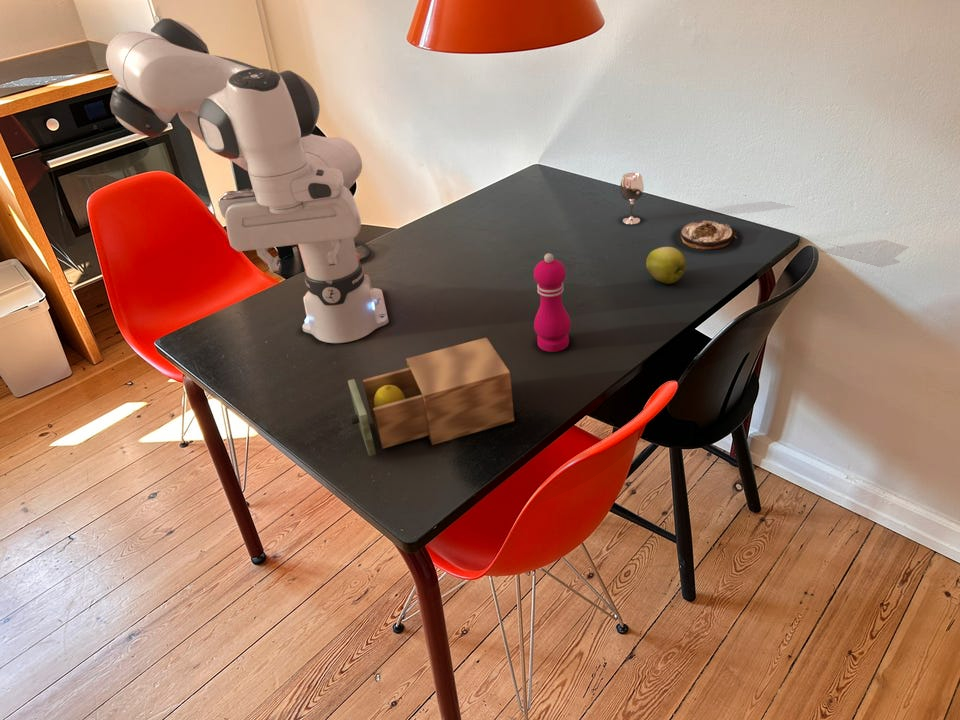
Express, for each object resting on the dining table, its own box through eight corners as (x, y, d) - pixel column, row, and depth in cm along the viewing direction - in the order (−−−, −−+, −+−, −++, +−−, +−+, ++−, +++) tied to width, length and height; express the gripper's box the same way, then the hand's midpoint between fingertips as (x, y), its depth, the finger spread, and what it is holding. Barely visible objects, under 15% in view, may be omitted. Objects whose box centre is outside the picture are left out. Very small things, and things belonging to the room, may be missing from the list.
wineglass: (616, 218, 199) (616, 174, 192) (636, 214, 200) (637, 170, 193) (626, 227, 194) (626, 182, 187) (646, 222, 195) (648, 177, 189)
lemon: (408, 431, 132) (401, 394, 127) (376, 434, 132) (368, 397, 128) (410, 411, 136) (403, 374, 132) (379, 414, 137) (371, 377, 132)
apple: (671, 294, 165) (673, 261, 160) (638, 281, 171) (639, 249, 166) (694, 281, 169) (696, 248, 164) (661, 268, 175) (663, 236, 170)
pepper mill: (568, 332, 156) (565, 243, 145) (573, 351, 150) (570, 260, 139) (533, 335, 157) (527, 247, 145) (537, 355, 151) (531, 264, 139)
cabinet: (432, 445, 131) (423, 395, 125) (414, 405, 141) (405, 358, 135) (514, 421, 135) (510, 372, 129) (491, 384, 144) (486, 337, 138)
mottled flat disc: (723, 259, 176) (725, 242, 174) (664, 246, 185) (664, 230, 182) (749, 234, 185) (750, 218, 183) (691, 222, 194) (692, 207, 191)
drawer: (362, 458, 129) (352, 418, 124) (350, 421, 137) (340, 382, 133) (448, 433, 132) (442, 393, 127) (431, 399, 141) (424, 359, 136)
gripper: (209, 201, 112) (236, 284, 120) (347, 184, 112) (365, 268, 119) (219, 185, 117) (245, 265, 125) (351, 169, 117) (369, 250, 124)
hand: (305, 267), depth 122 cm, fingers open, 8 cm apart
